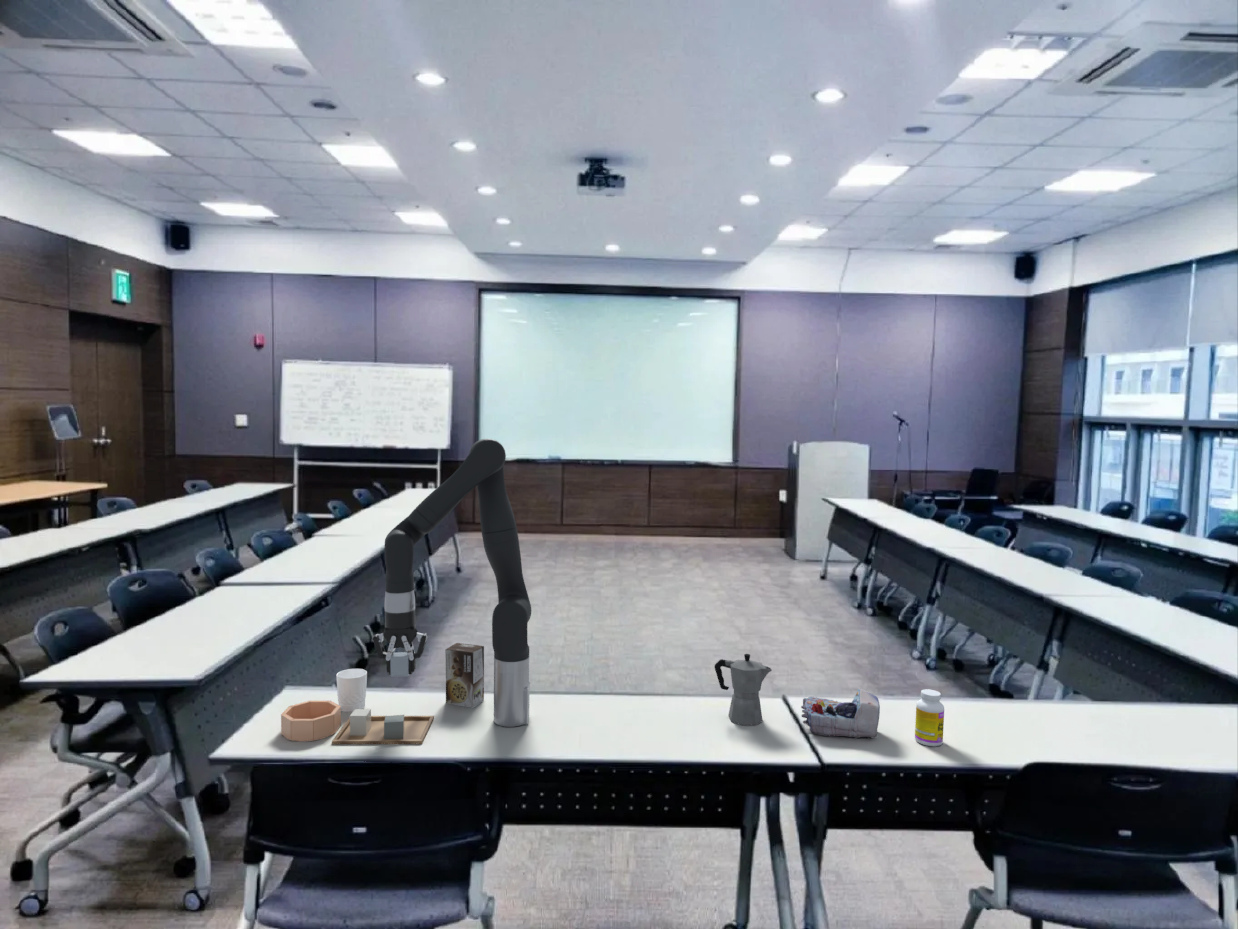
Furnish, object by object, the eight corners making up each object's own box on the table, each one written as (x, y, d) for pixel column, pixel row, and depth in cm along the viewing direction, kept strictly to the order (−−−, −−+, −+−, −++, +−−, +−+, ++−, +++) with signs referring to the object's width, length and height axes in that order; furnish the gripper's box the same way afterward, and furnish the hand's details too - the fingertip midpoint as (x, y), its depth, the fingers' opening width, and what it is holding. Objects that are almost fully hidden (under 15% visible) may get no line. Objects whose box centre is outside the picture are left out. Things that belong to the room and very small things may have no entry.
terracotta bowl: (345, 722, 200) (345, 700, 200) (329, 743, 187) (329, 720, 187) (294, 722, 200) (294, 700, 199) (275, 743, 187) (274, 720, 186)
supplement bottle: (940, 749, 190) (942, 699, 190) (912, 743, 194) (914, 693, 193) (944, 740, 196) (947, 691, 195) (917, 734, 200) (919, 686, 199)
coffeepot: (772, 716, 210) (774, 652, 208) (767, 729, 201) (769, 662, 199) (717, 708, 215) (718, 645, 213) (709, 720, 206) (711, 655, 205)
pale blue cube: (411, 671, 199) (411, 652, 198) (408, 676, 195) (407, 657, 194) (394, 671, 198) (394, 652, 198) (390, 676, 194) (390, 657, 194)
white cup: (361, 715, 205) (360, 678, 205) (331, 714, 205) (331, 677, 205) (371, 704, 213) (371, 668, 212) (343, 703, 213) (342, 668, 213)
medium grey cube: (404, 731, 194) (404, 714, 193) (403, 738, 190) (403, 721, 189) (385, 733, 193) (385, 716, 192) (384, 740, 188) (384, 722, 188)
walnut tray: (434, 720, 202) (434, 715, 202) (422, 746, 187) (422, 740, 187) (351, 721, 201) (351, 715, 201) (331, 746, 186) (331, 741, 186)
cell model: (884, 702, 192) (803, 698, 195) (883, 744, 193) (802, 739, 196) (875, 684, 205) (799, 680, 208) (874, 723, 206) (798, 719, 209)
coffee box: (484, 701, 216) (485, 645, 215) (473, 710, 210) (473, 652, 209) (456, 697, 219) (456, 642, 218) (444, 705, 213) (444, 648, 212)
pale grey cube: (371, 728, 195) (371, 709, 195) (366, 735, 191) (366, 715, 191) (355, 728, 195) (355, 709, 195) (349, 735, 191) (349, 715, 190)
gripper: (431, 604, 199) (432, 668, 201) (375, 604, 199) (376, 669, 200) (425, 611, 192) (426, 678, 193) (367, 612, 191) (368, 679, 192)
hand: (401, 673), depth 196 cm, fingers closed on pale blue cube, 4 cm apart
